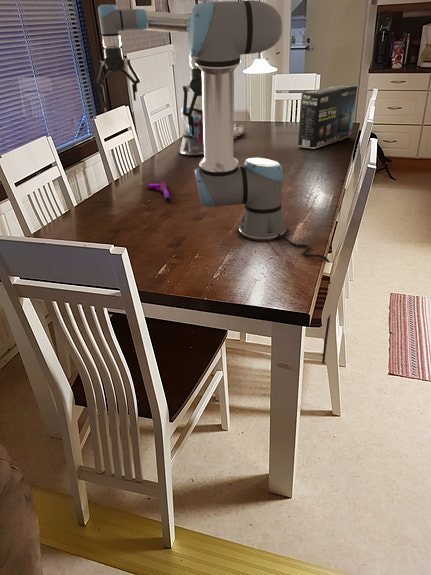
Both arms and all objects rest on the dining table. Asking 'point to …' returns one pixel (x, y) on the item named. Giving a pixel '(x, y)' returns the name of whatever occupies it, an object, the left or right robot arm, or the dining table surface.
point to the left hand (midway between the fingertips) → (119, 101)
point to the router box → (326, 115)
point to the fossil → (238, 130)
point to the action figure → (200, 130)
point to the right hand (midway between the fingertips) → (203, 133)
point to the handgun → (162, 188)
